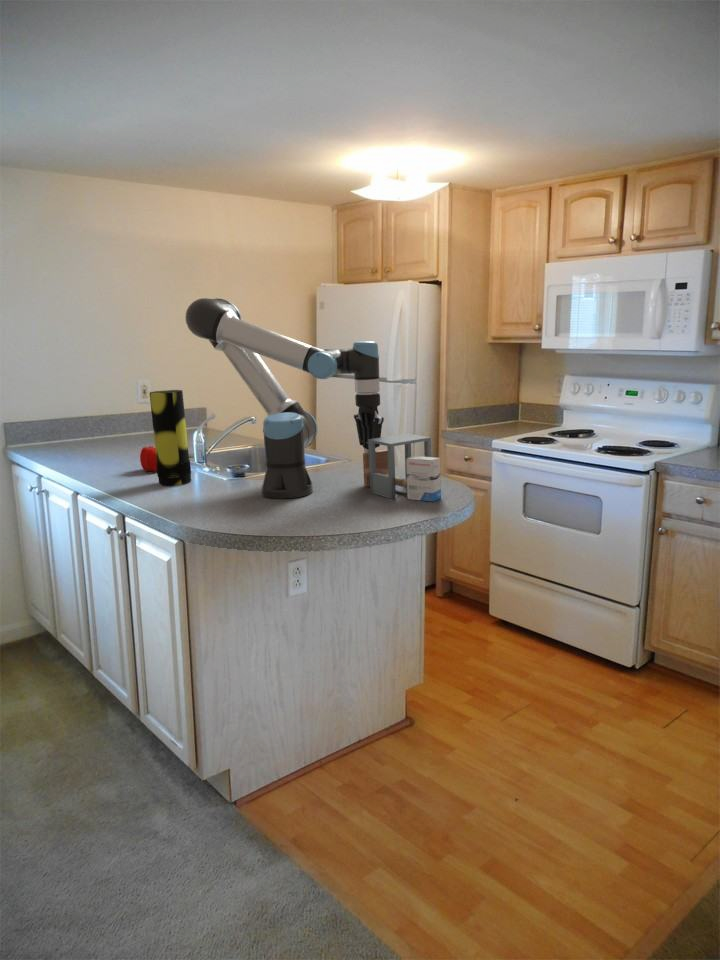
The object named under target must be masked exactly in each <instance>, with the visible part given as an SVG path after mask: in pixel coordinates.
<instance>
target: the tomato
mask: <svg viewBox="0 0 720 960" xmlns="http://www.w3.org/2000/svg"><path fill="white" fill-rule="evenodd" d="M139 461H140V466H141V468H142V469H143V470H144V471H146V472H152V473H157V466H156V463H157V459H156V449H155V446H143V447H142V449H141V451H140V453H139Z"/></svg>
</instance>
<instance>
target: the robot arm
mask: <svg viewBox="0 0 720 960" xmlns="http://www.w3.org/2000/svg"><path fill="white" fill-rule="evenodd" d="M185 323H186V325H187V329H188V330H189V331H190V333H192V334H193V335H194V336H196V337H198V338H200V339H204V340H208V341H209V343H210V344H211V345H212V347H213V349H214V350H215V351H219V352H222V353H223V354H224V355H225V357H226V358H227V360H228V361H229V362H230V363H231V365H232V366H233V368H234V370H235V371H236V372H237V374H238V375H239V376H240V378H241V379H242V381H243V382H244V383H245V385H246V386H247V387H248V389H249V390H250V392H251V393H252V395H253V396H254V397H255V399H256V400H257V401H258V403H259V405H260V406H261V408H262V409H263V411H264V412H265V413H266V415H267V417H265V418H264V420H263V423H262V425H263V427H262V433H263V440H264V443H263V444H264V454H265V456H264V457H265V466H266V467H265V468H266V469H265V473H264V479H263V482H262V485H261V493H262V494H261V495H262V496H263V497H265V498H270V499H279V500H280V499H283V500H284V499H294V498H300V497H301V498H302V497H306V496H308V495H310V494H312V493H313V492H314V490H313V482H312V480H311V477H310V474H309V472H308V470H307V466H306V456H305V455H306V454H305V449H307V448H308V447H310V446H311V445H312V444H313V443H314V441H315V440H316V437H317V435H318V423H317V421H316V418H314V416H313V415H312V414H311V413H309V412H308V411H307V410H304V408H303V407H302V406H301V404H300V403H299V401H298V400H295V399H291V398H290V397H289V395H288V394H287V392H286V391H285V390H284V388H283V387H282V386H281V384H280V383H279V381H278V380H277V378H276V377H275V376H274V374H273V373H272V371H271V370H270V368H269V367H268V365H266V363H265V361H264V360H263V358H262V357H261V356H263V357H265V358H268V359H270V360H273V361H276V362H279V363H282V364H285V365H287V366H290V367H292V368H296V369H298V370H301V371H303V372H306V373H307V374H310V375H311V376H312V377H314V378H315V379H318V380H327V379H330V378H332V376H336V375H351V374H353V376H354V392H355V398H354V399H355V406H356V407H358V412H357V413H356V414H354V415H353V419H354V421H355V425H356V431H357V436H358V437H357V438H358V442H359V445H360V446H362V447H363V449H364V451H363V453H369V446H368V439H374V438H380V437H382V428H383V423H384V421H385V418H384V417H383V416H380V414H379V408H378V407H379V406H380V405H381V393H379V392H380V355H379V348H378V347H379V346H378V343H377V342H376V341H374V340H373V341H372V340H371V341H370V340H369V341H367V340H365V341H354V343H353V344H352V348H337V349H336V348H329V349H321V348H318V347H315V346H313V345H310V344H307V343H305V342H302V341H299V340H297V339H295V338H292V337H288V336H285V335H284V334H280V333H278V332H275V331H273V330H270V329H267V328H264V327H262V326H259V325H256V324H253V323H251V322H248V321H245V320H242V317H241V312H240V310H239V309H238V307H237V305H235V304H233V303H232V302H231V301H228V300H226V299H224V298H217V297H216V298H207V297H206V298H203V297H201V298H198V299H196V300H194V301H192V303H190V305H188V307H187V309H186V310H185ZM380 446H381V445H380V444H375V449H376V448H379V447H380Z"/></svg>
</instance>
